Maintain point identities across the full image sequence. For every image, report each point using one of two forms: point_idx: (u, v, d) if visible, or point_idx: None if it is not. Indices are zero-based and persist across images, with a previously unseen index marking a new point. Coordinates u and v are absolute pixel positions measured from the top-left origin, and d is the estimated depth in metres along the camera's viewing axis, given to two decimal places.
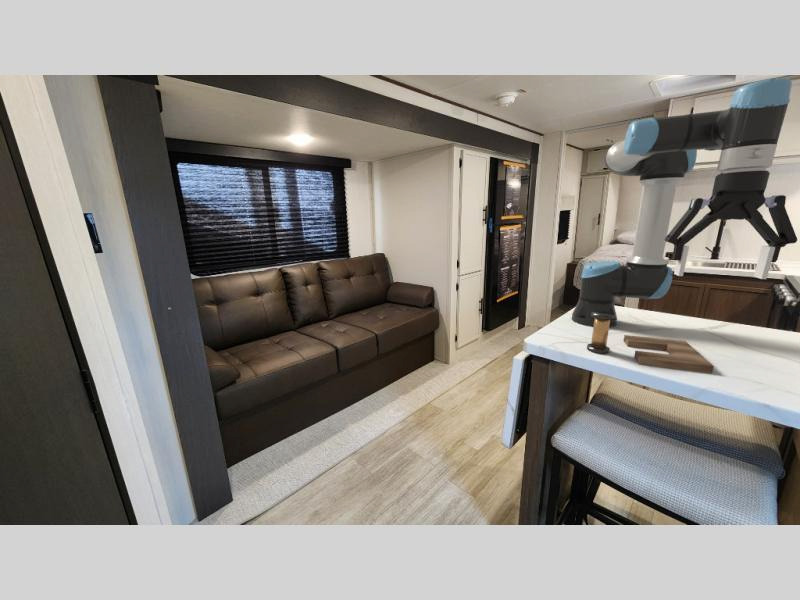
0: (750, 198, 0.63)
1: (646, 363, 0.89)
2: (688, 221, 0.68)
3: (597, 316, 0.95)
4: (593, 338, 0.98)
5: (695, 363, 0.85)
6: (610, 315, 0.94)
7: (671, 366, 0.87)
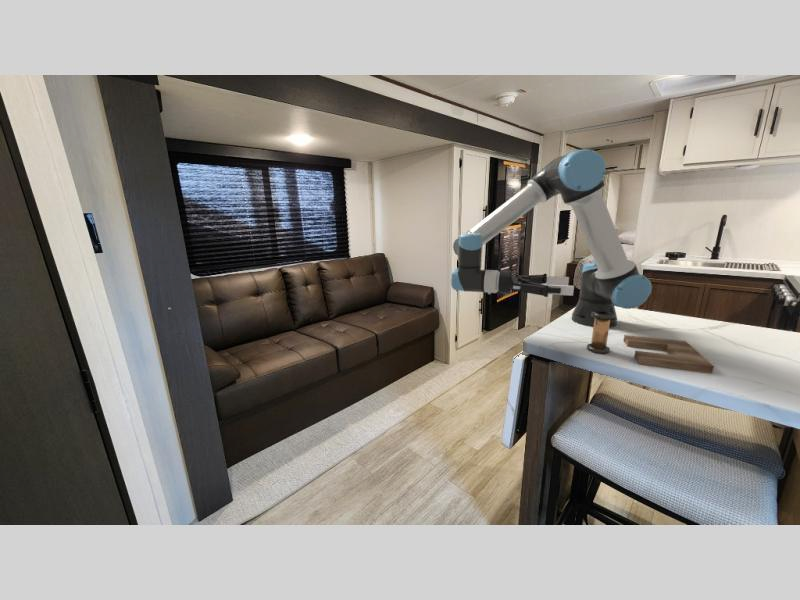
0: None
1: (646, 363, 0.89)
2: None
3: (597, 316, 0.95)
4: (593, 338, 0.98)
5: (695, 363, 0.85)
6: (610, 315, 0.94)
7: (671, 366, 0.87)
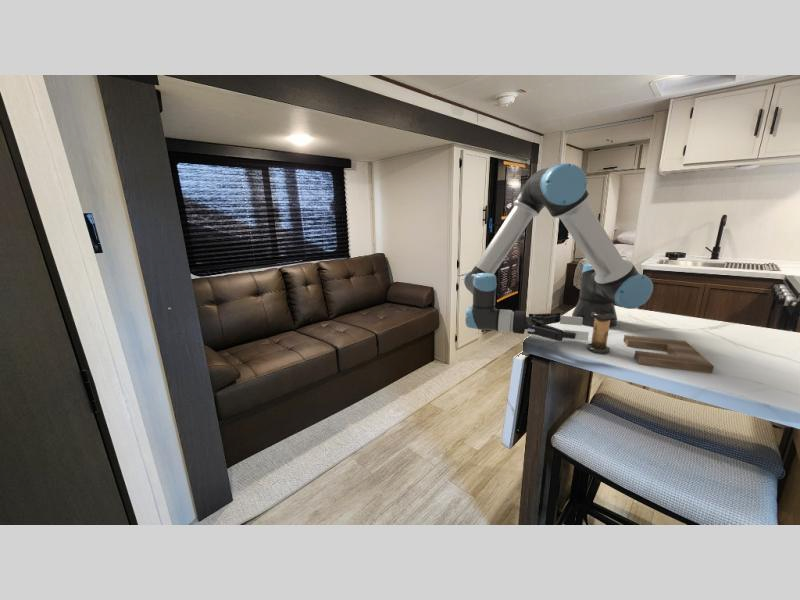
0: None
1: (646, 363, 0.89)
2: None
3: (597, 316, 0.95)
4: (593, 338, 0.98)
5: (695, 363, 0.85)
6: (610, 315, 0.94)
7: (671, 366, 0.87)
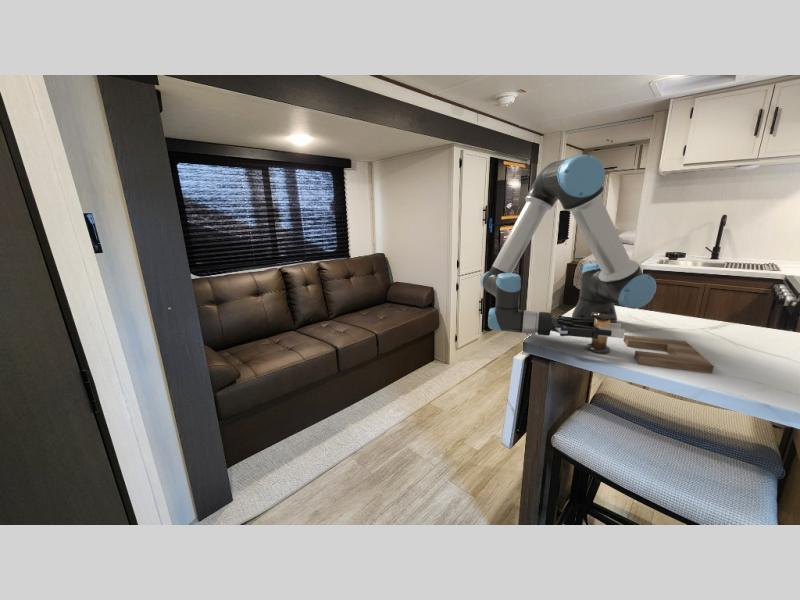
0: None
1: (646, 363, 0.89)
2: None
3: (597, 316, 0.95)
4: (593, 338, 0.98)
5: (695, 363, 0.85)
6: (610, 315, 0.94)
7: (671, 366, 0.87)
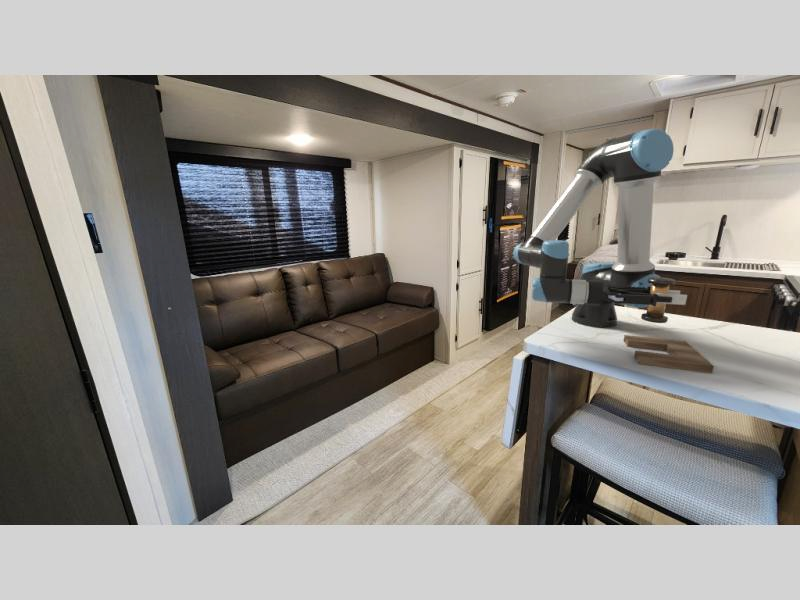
0: None
1: (646, 363, 0.89)
2: None
3: (655, 282, 0.88)
4: (649, 307, 0.92)
5: (695, 363, 0.85)
6: (670, 280, 0.88)
7: (671, 366, 0.87)
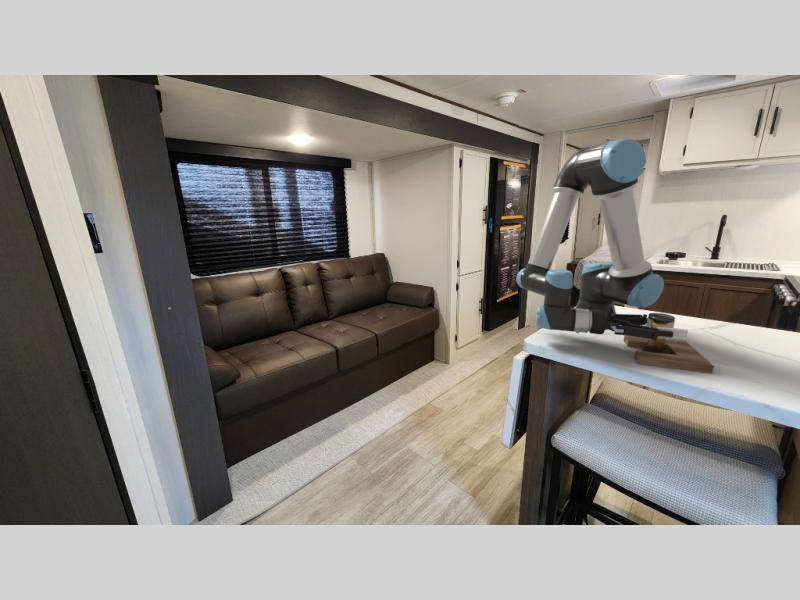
0: None
1: (646, 363, 0.89)
2: None
3: (656, 319, 0.91)
4: (650, 342, 0.95)
5: (695, 363, 0.85)
6: (670, 318, 0.91)
7: (671, 366, 0.87)
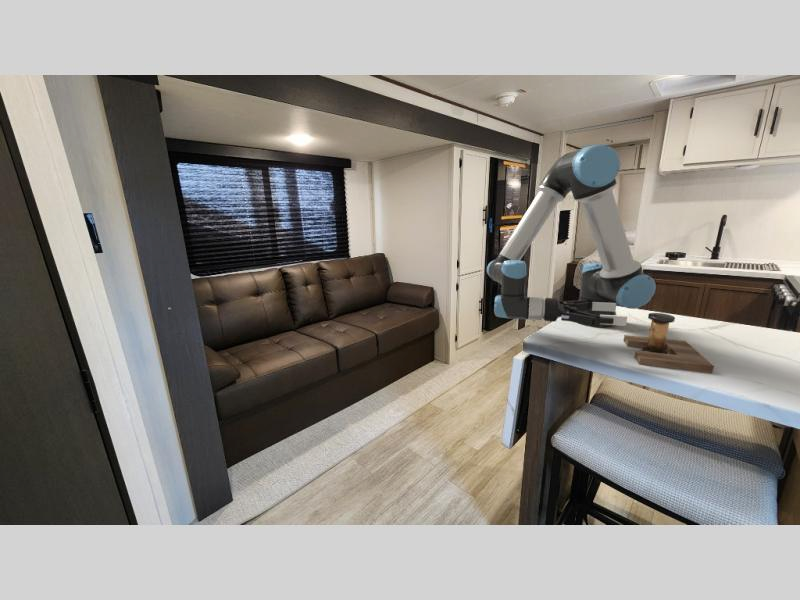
0: None
1: (646, 363, 0.89)
2: None
3: (656, 319, 0.91)
4: (650, 342, 0.95)
5: (695, 363, 0.85)
6: (670, 318, 0.91)
7: (671, 366, 0.87)
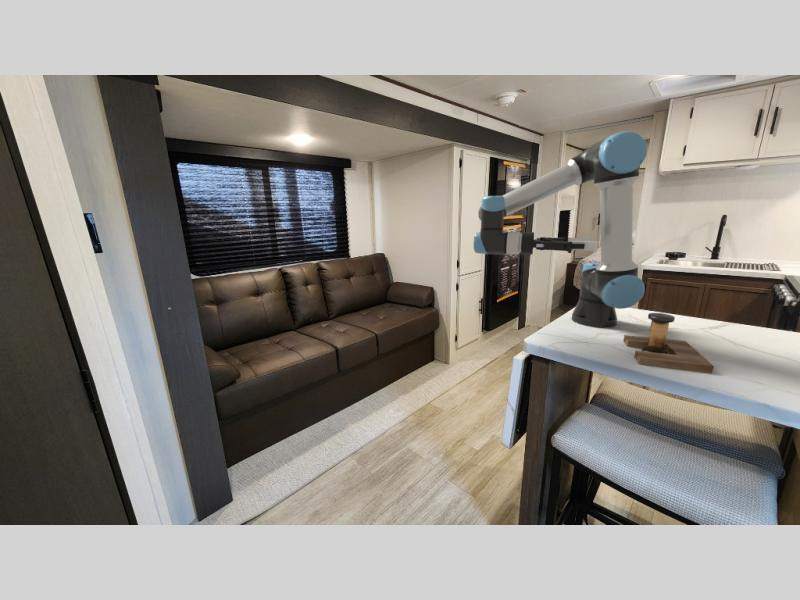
0: None
1: (646, 363, 0.89)
2: None
3: (656, 319, 0.91)
4: (650, 342, 0.95)
5: (695, 363, 0.85)
6: (670, 318, 0.91)
7: (671, 366, 0.87)
